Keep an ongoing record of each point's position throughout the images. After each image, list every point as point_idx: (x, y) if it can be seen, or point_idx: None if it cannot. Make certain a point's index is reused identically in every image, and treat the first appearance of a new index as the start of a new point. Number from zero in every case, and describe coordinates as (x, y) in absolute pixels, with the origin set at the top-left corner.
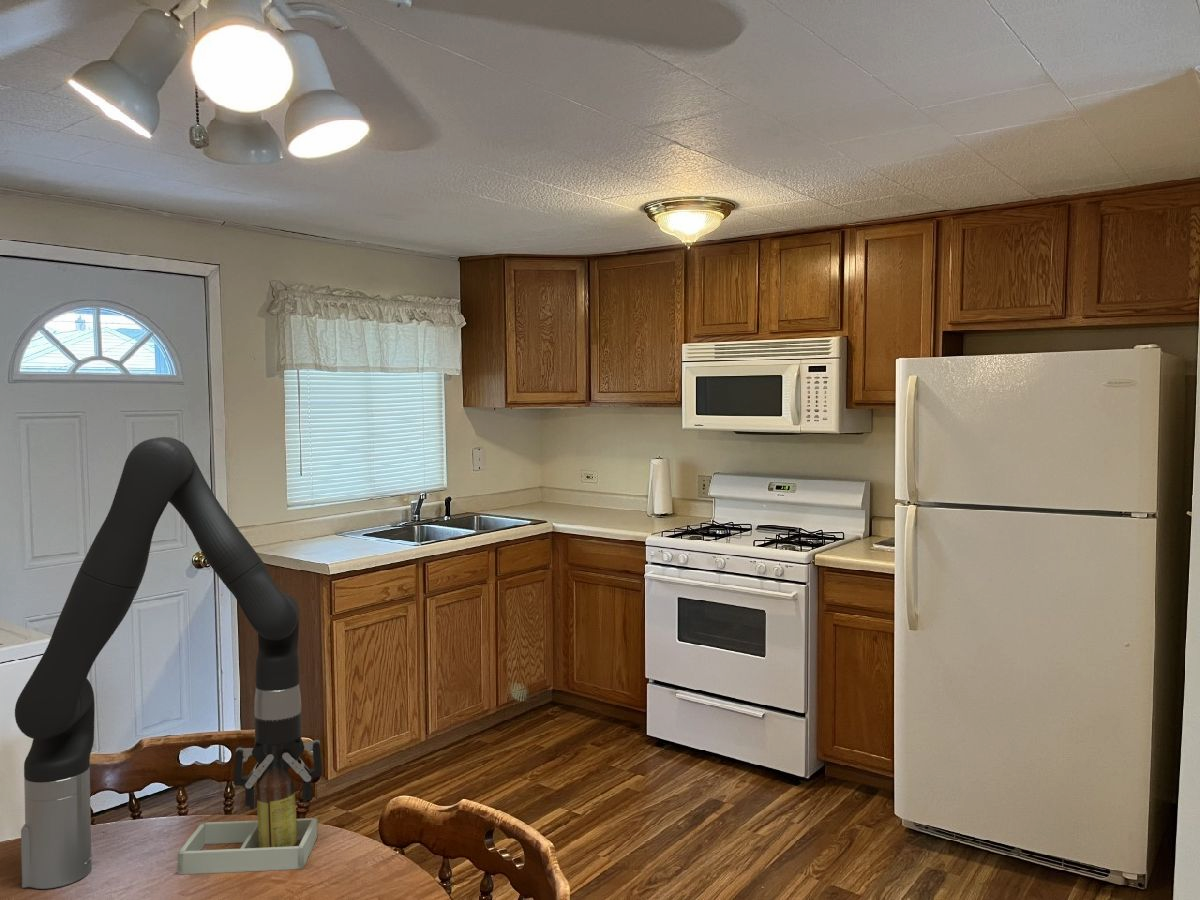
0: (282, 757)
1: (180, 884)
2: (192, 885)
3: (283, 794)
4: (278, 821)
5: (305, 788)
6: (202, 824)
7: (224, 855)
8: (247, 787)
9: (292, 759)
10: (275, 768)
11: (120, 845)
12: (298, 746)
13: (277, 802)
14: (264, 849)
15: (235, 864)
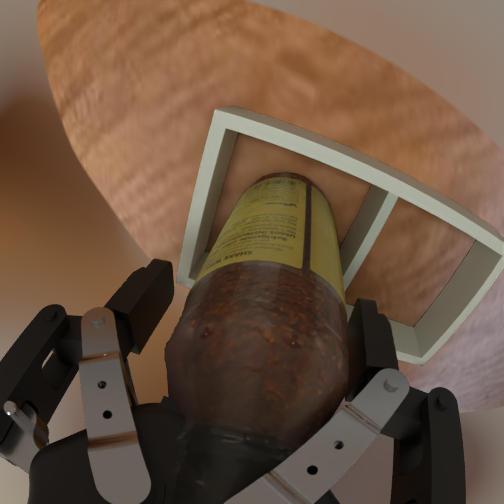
0: (150, 484)
1: (499, 180)
2: (484, 159)
3: (225, 280)
4: (274, 212)
5: (131, 293)
6: (424, 359)
7: (434, 197)
8: (396, 374)
9: (97, 436)
10: (229, 432)
11: (497, 363)
12: (42, 485)
13: (264, 254)
14: (332, 151)
15: (402, 175)
